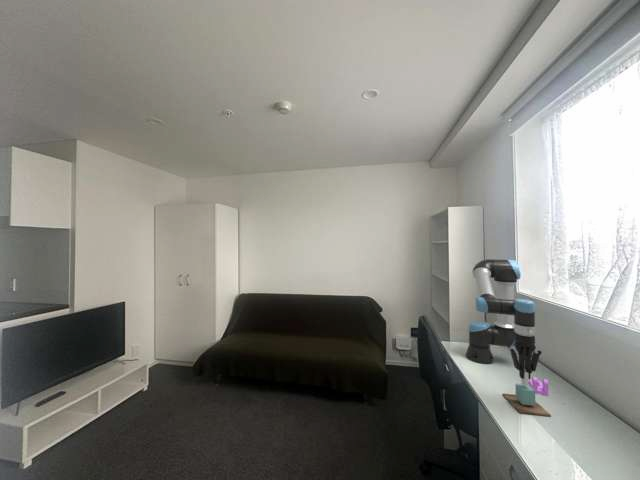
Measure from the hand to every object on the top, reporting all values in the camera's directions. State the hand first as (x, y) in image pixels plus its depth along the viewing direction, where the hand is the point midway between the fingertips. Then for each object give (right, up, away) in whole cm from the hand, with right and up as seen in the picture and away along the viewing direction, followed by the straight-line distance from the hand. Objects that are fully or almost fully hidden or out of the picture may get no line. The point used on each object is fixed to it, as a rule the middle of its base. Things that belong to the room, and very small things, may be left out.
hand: (524, 385), depth 118 cm
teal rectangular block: (0, -7, 0) cm, 7 cm away
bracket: (+18, -10, +15) cm, 26 cm away
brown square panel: (0, -9, 0) cm, 9 cm away
